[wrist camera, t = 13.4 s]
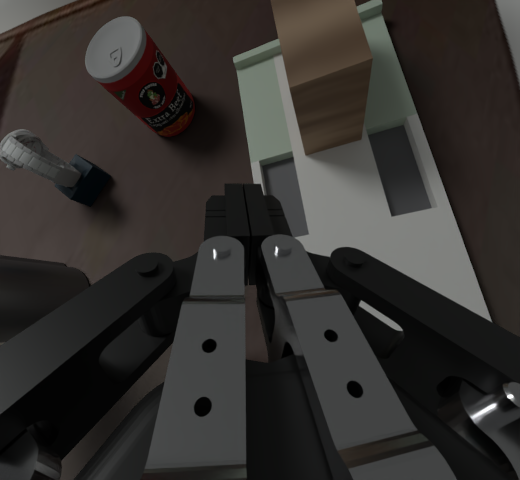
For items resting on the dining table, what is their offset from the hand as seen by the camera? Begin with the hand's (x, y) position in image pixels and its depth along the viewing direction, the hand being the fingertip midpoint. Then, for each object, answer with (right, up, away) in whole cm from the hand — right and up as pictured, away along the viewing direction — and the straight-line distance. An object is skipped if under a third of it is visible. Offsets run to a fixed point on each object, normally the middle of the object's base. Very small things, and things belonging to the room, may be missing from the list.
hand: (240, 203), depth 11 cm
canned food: (-12, +17, +27) cm, 34 cm away
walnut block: (+8, +15, +19) cm, 25 cm away
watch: (-25, +7, +29) cm, 39 cm away
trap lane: (+9, +4, +18) cm, 20 cm away
